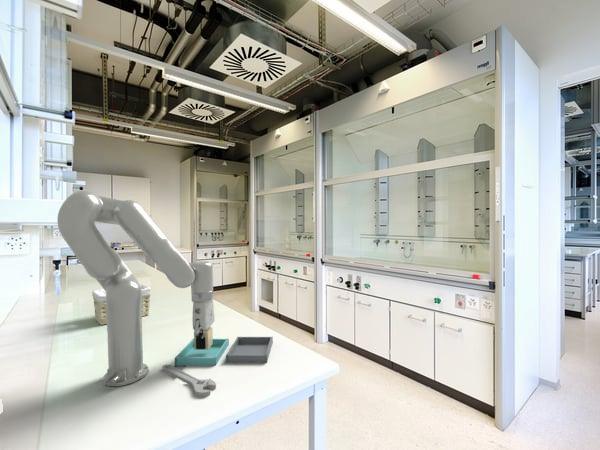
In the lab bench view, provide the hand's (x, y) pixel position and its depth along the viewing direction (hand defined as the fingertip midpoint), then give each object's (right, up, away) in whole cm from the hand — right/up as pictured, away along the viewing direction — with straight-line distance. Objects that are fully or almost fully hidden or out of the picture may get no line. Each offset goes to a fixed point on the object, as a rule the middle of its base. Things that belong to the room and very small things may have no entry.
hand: (203, 344), depth 109 cm
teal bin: (0, -4, 0) cm, 4 cm away
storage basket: (-55, -4, +44) cm, 71 cm away
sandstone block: (0, -1, 0) cm, 1 cm away
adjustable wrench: (0, -5, -15) cm, 16 cm away
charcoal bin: (+17, -4, +2) cm, 18 cm away
